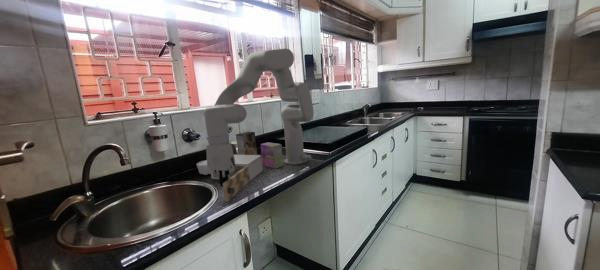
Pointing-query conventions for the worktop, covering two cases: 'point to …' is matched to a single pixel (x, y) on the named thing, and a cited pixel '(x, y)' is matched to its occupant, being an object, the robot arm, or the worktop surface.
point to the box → (272, 155)
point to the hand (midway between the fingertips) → (224, 185)
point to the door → (236, 183)
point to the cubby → (245, 160)
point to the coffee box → (246, 143)
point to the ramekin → (203, 168)
